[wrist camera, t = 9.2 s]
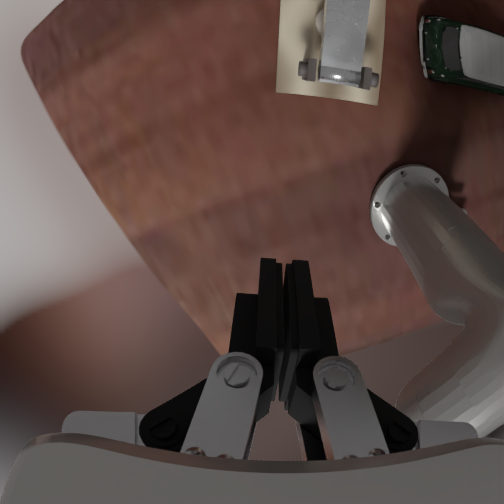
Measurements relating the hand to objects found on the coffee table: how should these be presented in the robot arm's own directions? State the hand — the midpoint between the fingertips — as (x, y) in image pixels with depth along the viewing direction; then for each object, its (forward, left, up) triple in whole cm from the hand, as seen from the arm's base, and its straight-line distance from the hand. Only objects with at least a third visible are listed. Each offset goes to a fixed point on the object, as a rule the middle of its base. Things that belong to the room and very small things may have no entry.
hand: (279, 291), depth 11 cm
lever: (-6, -17, -22) cm, 29 cm away
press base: (-6, -16, -29) cm, 34 cm away
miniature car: (-26, -15, -30) cm, 42 cm away
